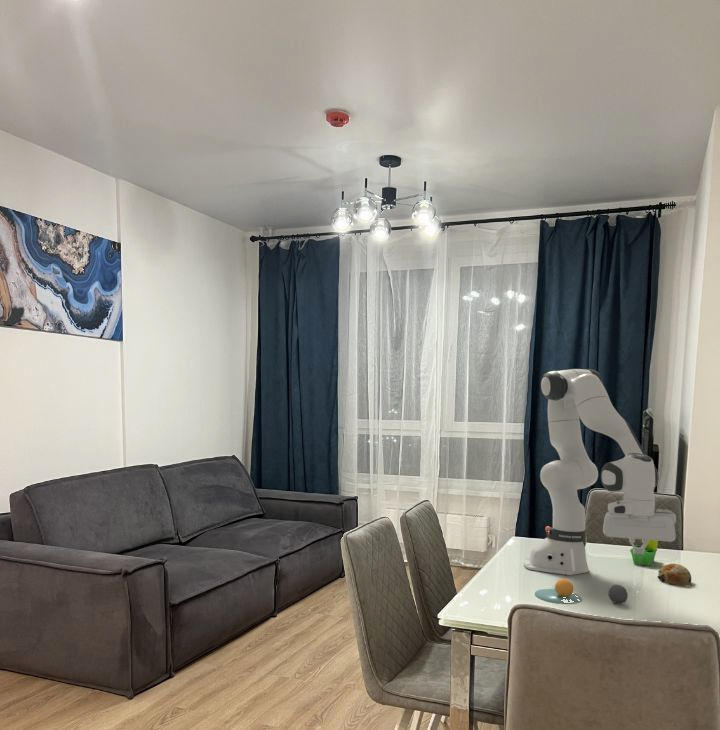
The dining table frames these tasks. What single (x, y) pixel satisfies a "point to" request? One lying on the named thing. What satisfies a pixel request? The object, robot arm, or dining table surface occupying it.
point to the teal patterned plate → (555, 596)
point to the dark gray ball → (618, 594)
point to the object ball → (564, 588)
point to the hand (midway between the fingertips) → (638, 553)
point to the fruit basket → (646, 553)
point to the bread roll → (675, 575)
